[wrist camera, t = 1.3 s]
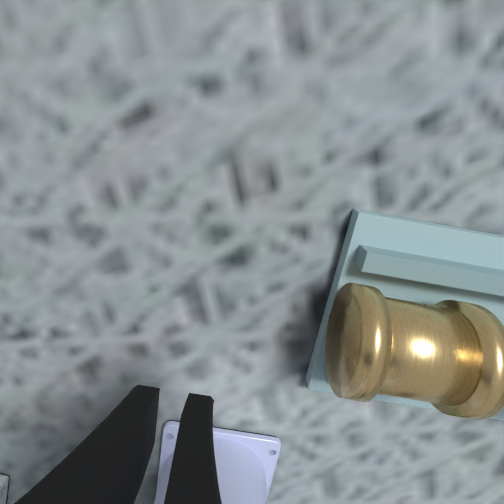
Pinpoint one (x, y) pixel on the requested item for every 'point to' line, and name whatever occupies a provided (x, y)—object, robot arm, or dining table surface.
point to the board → (414, 274)
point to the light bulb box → (3, 488)
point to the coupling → (415, 352)
